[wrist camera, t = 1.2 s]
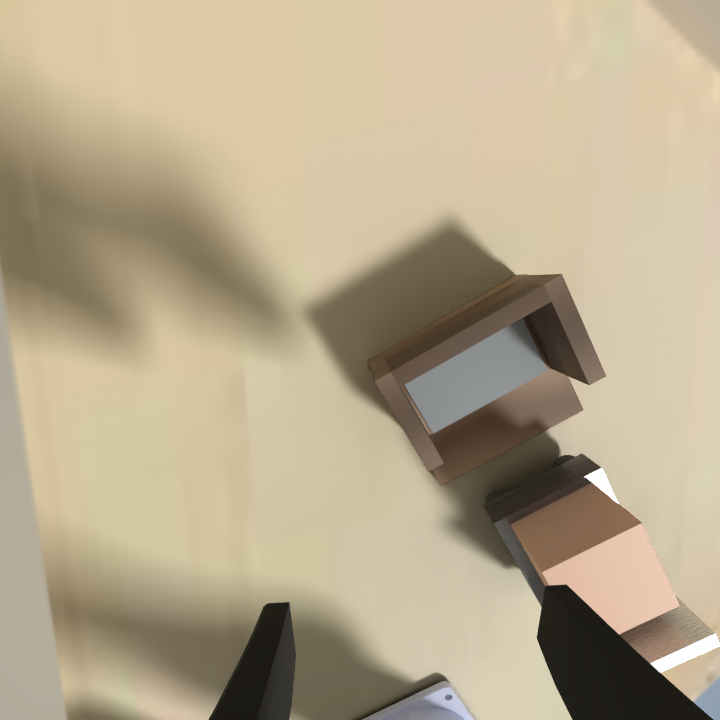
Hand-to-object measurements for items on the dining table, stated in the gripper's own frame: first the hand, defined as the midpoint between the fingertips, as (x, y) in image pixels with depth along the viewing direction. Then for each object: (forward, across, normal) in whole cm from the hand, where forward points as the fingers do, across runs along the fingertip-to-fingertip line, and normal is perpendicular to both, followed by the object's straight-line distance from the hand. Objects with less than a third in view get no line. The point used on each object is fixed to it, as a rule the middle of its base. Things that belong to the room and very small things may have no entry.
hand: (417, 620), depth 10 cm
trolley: (+10, -10, +6) cm, 15 cm away
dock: (+11, -5, -3) cm, 12 cm away
